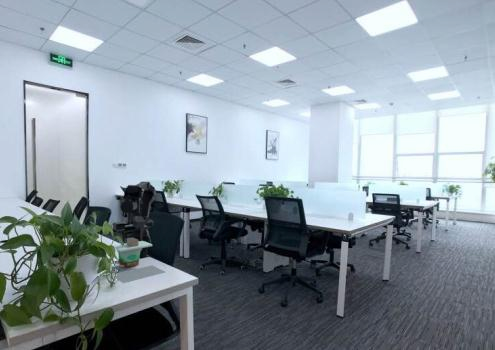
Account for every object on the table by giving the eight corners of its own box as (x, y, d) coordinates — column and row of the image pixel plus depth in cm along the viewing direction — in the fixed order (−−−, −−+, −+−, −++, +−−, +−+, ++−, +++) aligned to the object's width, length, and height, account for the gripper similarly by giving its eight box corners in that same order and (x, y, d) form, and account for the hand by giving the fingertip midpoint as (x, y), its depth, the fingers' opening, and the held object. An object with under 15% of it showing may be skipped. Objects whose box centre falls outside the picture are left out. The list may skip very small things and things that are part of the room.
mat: (111, 275, 126) (111, 274, 126) (152, 266, 140) (152, 265, 140) (123, 284, 117) (123, 283, 117) (165, 272, 132) (166, 272, 132)
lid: (111, 247, 136) (111, 239, 136) (142, 242, 148) (143, 235, 148) (120, 251, 129) (120, 243, 129) (152, 246, 141) (152, 238, 141)
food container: (123, 271, 131) (123, 250, 131) (116, 268, 135) (117, 247, 135) (146, 265, 141) (147, 245, 141) (139, 262, 145) (140, 243, 145)
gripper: (121, 213, 126) (120, 248, 126) (159, 210, 140) (158, 241, 140) (111, 210, 133) (110, 243, 133) (148, 208, 147) (147, 237, 147)
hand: (132, 241), depth 138 cm, fingers open, 9 cm apart
